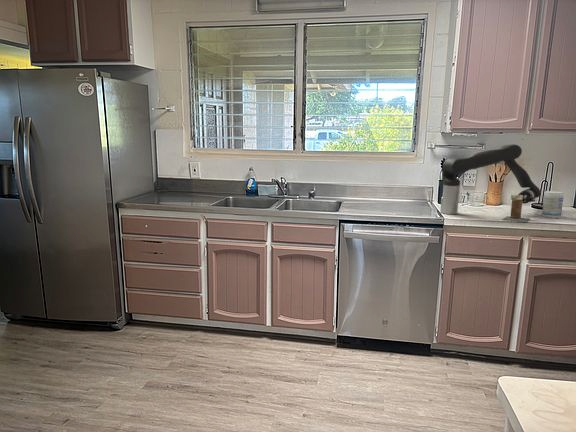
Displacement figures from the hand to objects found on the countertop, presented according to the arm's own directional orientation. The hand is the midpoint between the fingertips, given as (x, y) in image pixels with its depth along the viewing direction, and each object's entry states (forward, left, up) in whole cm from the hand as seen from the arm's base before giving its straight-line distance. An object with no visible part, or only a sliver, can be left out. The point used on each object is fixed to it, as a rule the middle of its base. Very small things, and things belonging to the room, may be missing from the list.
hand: (519, 200), depth 241 cm
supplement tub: (+15, +13, -10) cm, 22 cm away
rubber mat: (+1, -9, -10) cm, 13 cm away
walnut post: (0, -6, -10) cm, 11 cm away
